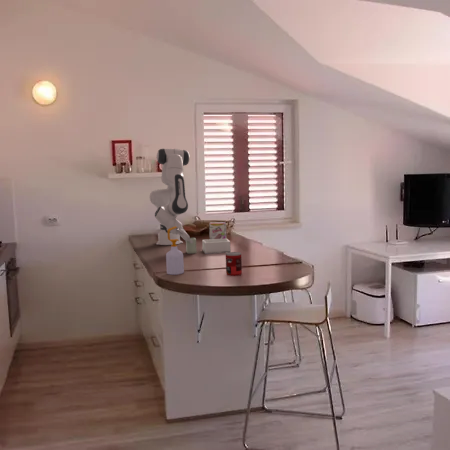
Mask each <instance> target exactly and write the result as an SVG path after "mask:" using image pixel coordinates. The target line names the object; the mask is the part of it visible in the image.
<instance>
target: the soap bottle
mask: <svg viewBox="0 0 450 450" xmlns="http://www.w3.org/2000/svg"><path fill="white" fill-rule="evenodd" d="M175 228H177V227H176V226H175V227H172V228H169V229H168V231H167V233H168V240H170V241H171V242H172V244H173V245H170V250H169V251H167V252H166V254H165V262H166V274H167V275H172V276H176V275H177V276H178V275H181V274H184V273H185V269H184V268H185V267H184V254H183V251H181V250H180V249H178V244H176V242H177V241H179V240H178V239H170V231H171V230H173V229H175Z"/></svg>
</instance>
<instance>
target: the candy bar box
mask: <svg viewBox="0 0 450 450" xmlns="http://www.w3.org/2000/svg"><path fill="white" fill-rule="evenodd" d="M208 229H209V230H208V232H209V233H208V234H209V239H225V238H227V222H224V221H223V222H222V221H221V222H219V221H218V222H213V221H212V222H211V221H210V222H209V224H208Z"/></svg>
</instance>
